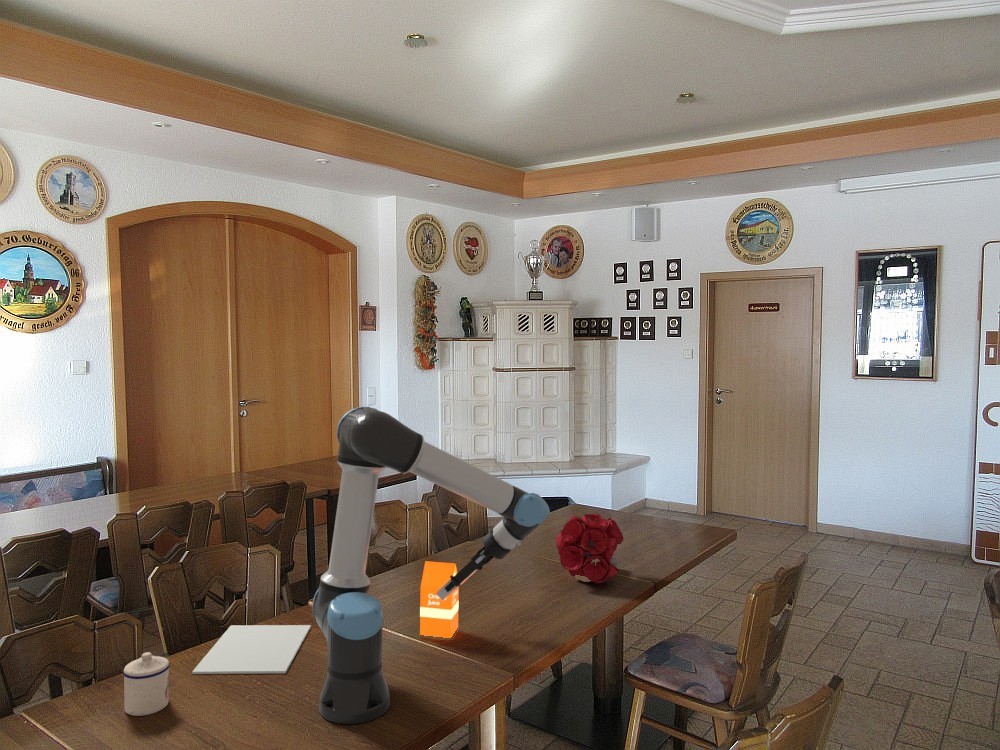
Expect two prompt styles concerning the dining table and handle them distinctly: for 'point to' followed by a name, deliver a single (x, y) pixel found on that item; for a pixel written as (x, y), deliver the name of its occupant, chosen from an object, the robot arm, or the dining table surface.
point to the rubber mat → (254, 650)
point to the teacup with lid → (146, 685)
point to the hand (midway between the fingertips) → (449, 588)
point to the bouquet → (589, 546)
